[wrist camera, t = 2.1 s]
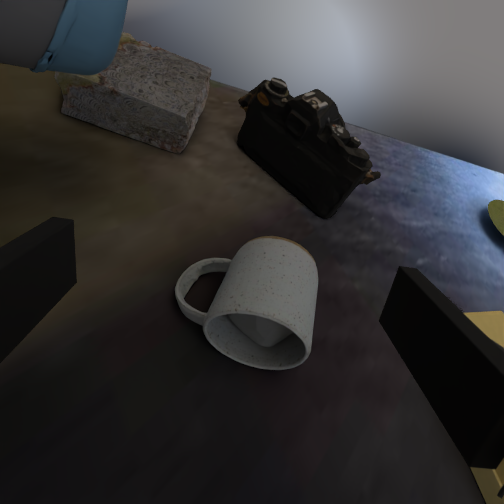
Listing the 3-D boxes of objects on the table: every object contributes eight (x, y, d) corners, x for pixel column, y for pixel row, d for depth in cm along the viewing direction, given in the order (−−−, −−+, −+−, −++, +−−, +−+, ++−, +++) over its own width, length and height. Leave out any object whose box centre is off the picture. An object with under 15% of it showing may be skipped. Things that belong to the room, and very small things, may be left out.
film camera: (360, 174, 47) (408, 112, 40) (343, 231, 39) (400, 167, 32) (248, 111, 47) (276, 36, 39) (209, 155, 39) (234, 72, 31)
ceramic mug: (298, 295, 32) (340, 249, 26) (282, 380, 27) (330, 346, 21) (193, 252, 31) (212, 194, 25) (155, 331, 26) (167, 281, 20)
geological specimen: (200, 121, 34) (36, 55, 30) (186, 165, 38) (43, 113, 34) (216, 68, 40) (82, 8, 36) (203, 111, 45) (83, 62, 41)
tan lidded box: (406, 326, 34) (432, 312, 32) (474, 321, 38) (501, 308, 35) (495, 524, 26) (540, 528, 23) (570, 493, 30) (616, 493, 27)
